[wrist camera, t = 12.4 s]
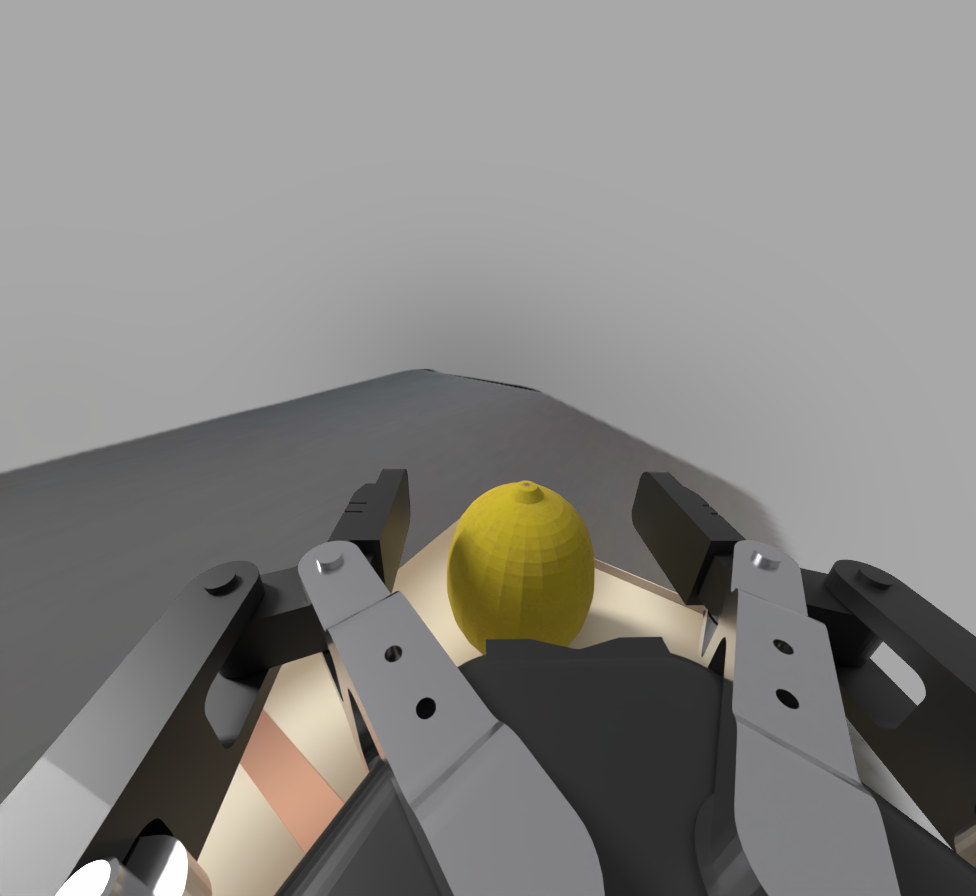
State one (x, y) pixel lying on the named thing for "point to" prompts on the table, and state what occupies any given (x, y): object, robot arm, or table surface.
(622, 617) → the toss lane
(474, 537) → the lemon
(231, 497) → the table surface
